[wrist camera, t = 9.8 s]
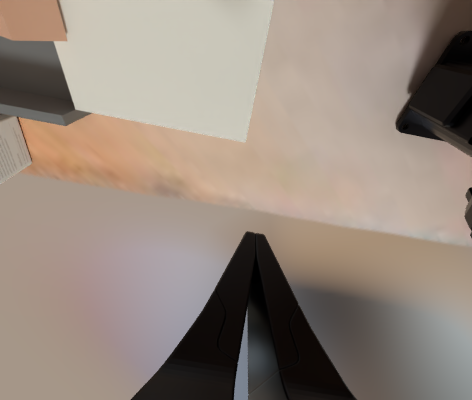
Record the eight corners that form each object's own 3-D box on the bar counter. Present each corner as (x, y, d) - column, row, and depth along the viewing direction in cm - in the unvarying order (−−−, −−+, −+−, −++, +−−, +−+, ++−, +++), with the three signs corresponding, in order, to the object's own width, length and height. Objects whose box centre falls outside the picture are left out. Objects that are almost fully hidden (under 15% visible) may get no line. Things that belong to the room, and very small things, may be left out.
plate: (303, -150, 10) (311, -183, 8) (246, 133, 19) (245, 142, 17) (3, -221, 10) (-47, -269, 8) (91, 102, 18) (75, 109, 17)
